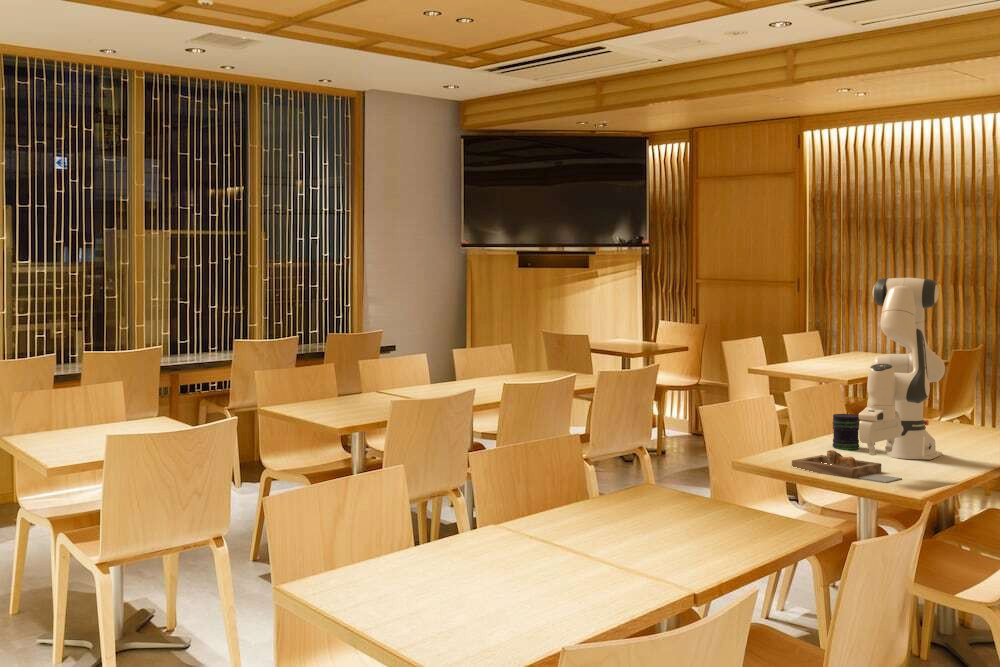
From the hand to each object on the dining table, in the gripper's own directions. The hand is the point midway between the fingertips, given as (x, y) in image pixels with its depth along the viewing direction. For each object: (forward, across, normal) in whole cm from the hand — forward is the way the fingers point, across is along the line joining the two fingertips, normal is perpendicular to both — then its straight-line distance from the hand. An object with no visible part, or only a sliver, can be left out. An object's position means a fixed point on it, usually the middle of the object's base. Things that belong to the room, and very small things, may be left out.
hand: (880, 453), depth 322 cm
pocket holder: (+9, -2, -19) cm, 21 cm away
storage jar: (+10, -38, -38) cm, 55 cm away
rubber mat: (+9, +1, 0) cm, 9 cm away
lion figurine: (+9, -3, -16) cm, 19 cm away
